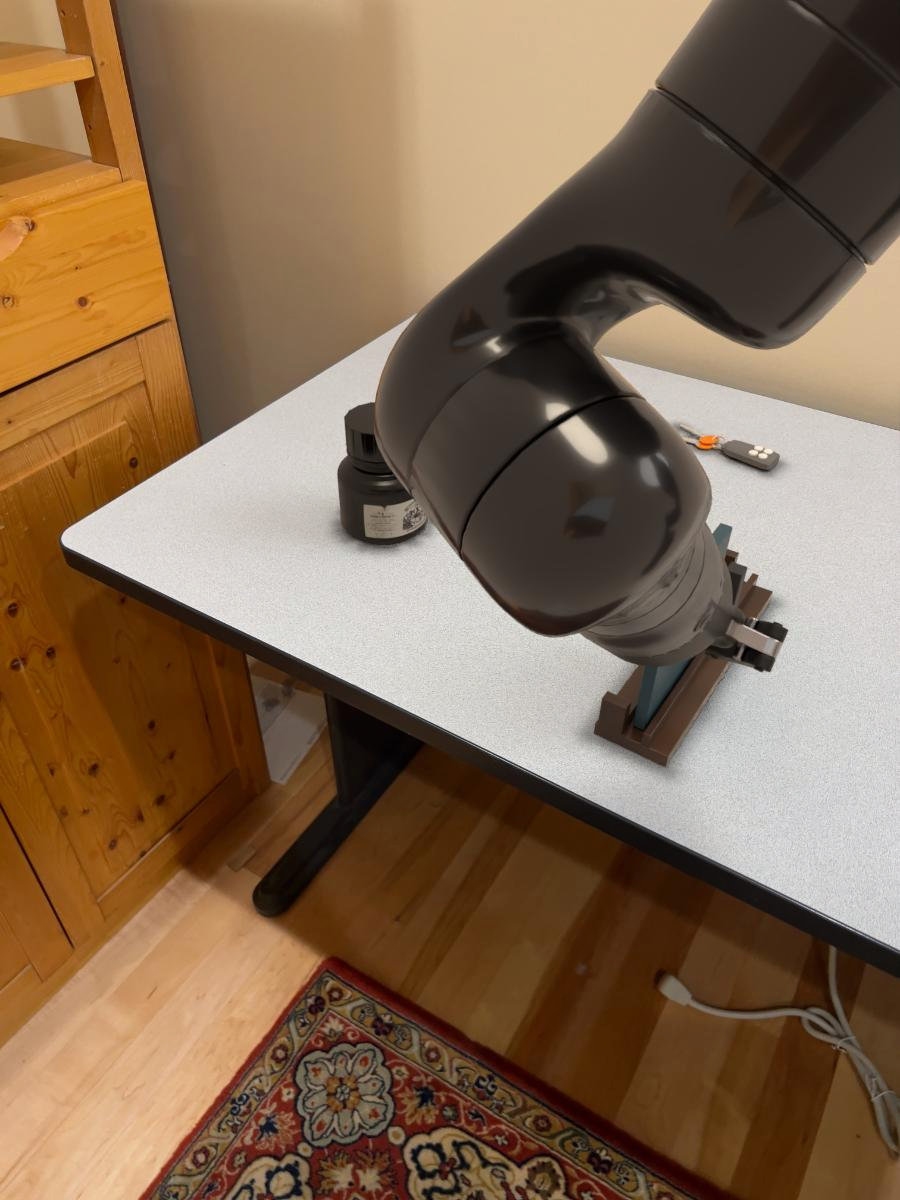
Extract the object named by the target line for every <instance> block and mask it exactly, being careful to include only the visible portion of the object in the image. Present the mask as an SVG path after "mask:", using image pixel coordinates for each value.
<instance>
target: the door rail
mask: <svg viewBox="0 0 900 1200" xmlns="http://www.w3.org/2000/svg"><path fill="white" fill-rule="evenodd" d="M739 555H740V552H739V551H735V550H732V549H730V548H727V552H726V556H725V562H726V564H727V567H728V566H729V565H730V563H731V562H734V563H737V564H738V559H739ZM759 576H760V575H759V574H757V573H754V572H752V573H751V574H750V576H749V577H748V579H747V581H745V580H744V583H743V587H742V590H741V594H740V598H739V601H738V605H737V608H739V609H740V610H741V611H742V612H743V613H744V615H745V618H750V617H753V618H756V619H758V620H760V618H761V617H762V615H763V614H764V612H765V611H766V608H767V607H768V606H769V604H770V603H771V599H772V596H773V593H774V592H773V590H770V589H767V588H764V587H761V586H759V585H757V583H758V579H759ZM704 651H705V650H703V651H702V652H700V653H699V654H697V655H696V656H695V657H694V659H693V660H692V661H691V663H690V664H689V666H688V667H687V669H686V670H685V672H684V673H683V675H682V676H681V678H680V679H679V680H678V682H677V683H676V685H675V686H674V688H673V689H672V691H671V692H670V694H669V695H668V697H667V698H666V700H665V701H664V702H663V704H662V705H661V707H660V708H659V710H658V711H657V713H656V714H655V716H654V717H653V719H652V720H651V721H650V723H649V724H648V726H647V727H646V729H645V730H642V729H640V728H638V727H636V726H634V725H633V721H634V716H635V711H636V706H637V701H638V696H639V691H640V686H641V681H642V676H643V671H644V666H640V665H637V666H636V668H635V669H634V670H633V672H632V674H631V675H630V676H629V677H628V678H627V680H626V681H625V682H624V684H623V685H622V686H621V688H620V689H619V691H618V692H617V693H616V694H615V693H613V692H611V691H609V690H607V691H606V692H605V694H604V695H602V697H601V701H600V707H599V713H598V719H597V720H596V721H595V723H594V727H593V728H594V729H593V734H594V735H596V736H598V737H600V738H602V739H603V740H606V741H609V742H610V743H612V744H615V745H617V746H619V747H621V748H623V749H626V750H628V751H629V752H632V753H633V754H636V755H638V756H641V757H642V758H645V759H647V760H649V761H651V762H653V763H655V764H657V765H660V766H661V767H664V768H667V766H668V764H669V763H670V761H671V759H672V758H673V756H674V755H675V754H676V752H677V750H678V748H679V747H680V745H681V744H682V742H683V741H684V739H685V737H686V736H687V734H688V733H689V731H690V729H691V728H692V726H693V725H694V723H695V721H696V720H697V718H698V716H699V715H700V714H701V712H702V711H703V709H704V707H705V706H706V704H707V703H708V701H709V699H710V697H711V696H712V695H713V694H714V691H715V690H716V688H717V686H718V685H719V683H720V682H721V680H722V679H723V678H724V675H725V674H726V672H727V670H728V669H729V667H730V666H731V665H732V663H733V662H730V661H726V660H722V659H717V660H716V659H713V658H711V657H709V655H706V654H705V652H704Z"/></svg>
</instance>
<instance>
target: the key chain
mask: <svg viewBox="0 0 900 1200" xmlns="http://www.w3.org/2000/svg"><path fill="white" fill-rule="evenodd" d="M678 425H679V427H681V428H682V429H684V430H686V431H688V432H690V433H692V434H693V435H694V436H697V437H700V438H699V439H697V438H696V439H695V438H694V439H693V438H691V437H687V436H682V435H680V436H681V437H682V438H683V439H684V440H685V442H686V443H687V444H688V443H689V444H693V445H695V446H696V448H698V449H701V450H711V449H717V450H720V451H722V452H723V453H724V454H725V455H726V456H728V457H730V458H733V459H734V460H735V459H736V460H738V461H740V462H743V463H745V464H748V465H751V466H753V467H755V468H759V469H762V470H766V471H769V470H771V469H773V468H774V467H775V466H776V465H777V464H778V463H779V461H780V457H781V456H780V455H781V454H780V453H778V452H775V451H773V450H772V449H771V448H764V447H763V446H762V445H755V444H753V443H749V442H745V441H743V440H737V439H732V440H728V439H727V438H726V437H725V436H724V435H721V434H718V435H714V434H707V435H705V434H704V433H701V432H699V431H698V430H696V429H694V428H691V427H689V426H687V425H685V424H683V423H680V424H678ZM720 438H722V439H723V440H724V443H723V444H721V443H719V444H718V442H719V439H720Z"/></svg>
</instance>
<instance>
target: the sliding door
mask: <svg viewBox="0 0 900 1200" xmlns="http://www.w3.org/2000/svg"><path fill="white" fill-rule="evenodd" d="M732 531H733V526H731V525H729V524H725V523H722V522H720V523H719V524H718V525H717V527H716V528H715V529H714V530H713V532H712V535H713V537H714V539H715V541H716V543H717V545H718V547H719V549H720V552H721V554H722V556H723V558H724V560H725V556H726V552H727V549H729V543H730V539H731V536H732ZM728 570H729V573H730V577H731V582H732V593H733V602H732V605H734V606H736V607H737V605H738V601H739V598H740V594H741V590H742V587H743V583H744V581H745V579H746V576H747V571H748V566H746V565H744V564H743V565H742V564H740V563H738V562H737V563H734V562H731V563H730V565H729V566H728ZM705 654H706V655H709V654H707V653H705ZM694 657H695V656H694ZM694 657H692V658H690V659H688V660H686V661H683V662H681V663H678V664H674V665H670V666H663V667H647V666H644V671H643V676H642V681H641V686H640V691H639V696H638V701H637V706H636V711H635V716H634V721H633V725H634V726H636V727H638V728H640V729H642V730H645V729H646V727H647V726H648V724H649V723H650V721H651V720H652V719H653V717H654V716H655V714H656V713H657V711H658V710H659V708H660V707H661V705H662V704H663V702H664V701H665V700H666V698H667V697H668V695H669V694H670V692H671V691H672V689H673V688H674V686H675V685H676V683H677V682H678V680H679V679H680V678H681V676H682V675H683V673H684V672H685V670H686V669H687V667H688V666H689V664H690V663H691V661H692V660H693V659H694ZM718 659H719V658H718Z"/></svg>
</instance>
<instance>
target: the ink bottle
mask: <svg viewBox="0 0 900 1200" xmlns="http://www.w3.org/2000/svg"><path fill="white" fill-rule="evenodd" d="M374 405H375V401H370V402H367V403H363V404H358V405H356V406H355V407H353V408H351V409H349V410H348V411H347V412H346V414H345V415H344V416H343V421H344V433H345V446H346V451H345V452H346V455H345V456H344V458H343V459H342V460H341V461H340V463H339V465H338V467H337V473H336V476H337V477H336V478H337V487H338V490H337V491H338V502H339V503H338V504H339V514H340V523H341V527H342V529H343V530H344V531H345V533H346V534H347V535H349V536H350V537H352V539H355V540H357V541H359V542H361V543H364V544H368V545H373V546H379V547H380V546H381V547H382V546H394V545H399V544H402V543H405V542H408V541H409V540H411V539H414V538H415V537H417V536H418V535H420V534H421V533H422V532H423V531H424V530H425V528H426V527H427V525H428V523H429V521H428V520H429V518H428V517H427V515H426V514H425V513H424V512H423V510H422V509H421V508H420V506H419V505H418V503H417V502H416V501H415V500H414V499H413V498H412V496H411V495H410V494H409V493H408V491H407V490H406V489H405V488H404V486H403V485H402V484H401V483H400V481H399V480H398V479H397V477H396V476H395V475H394V473H393V472H392V471H391V469H390V468H389V467H388V465H387V463H386V462H385V460H384V458H383V456H382V454H381V452H380V450H379V448H378V445H377V441H376V438H375V433H374Z"/></svg>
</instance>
